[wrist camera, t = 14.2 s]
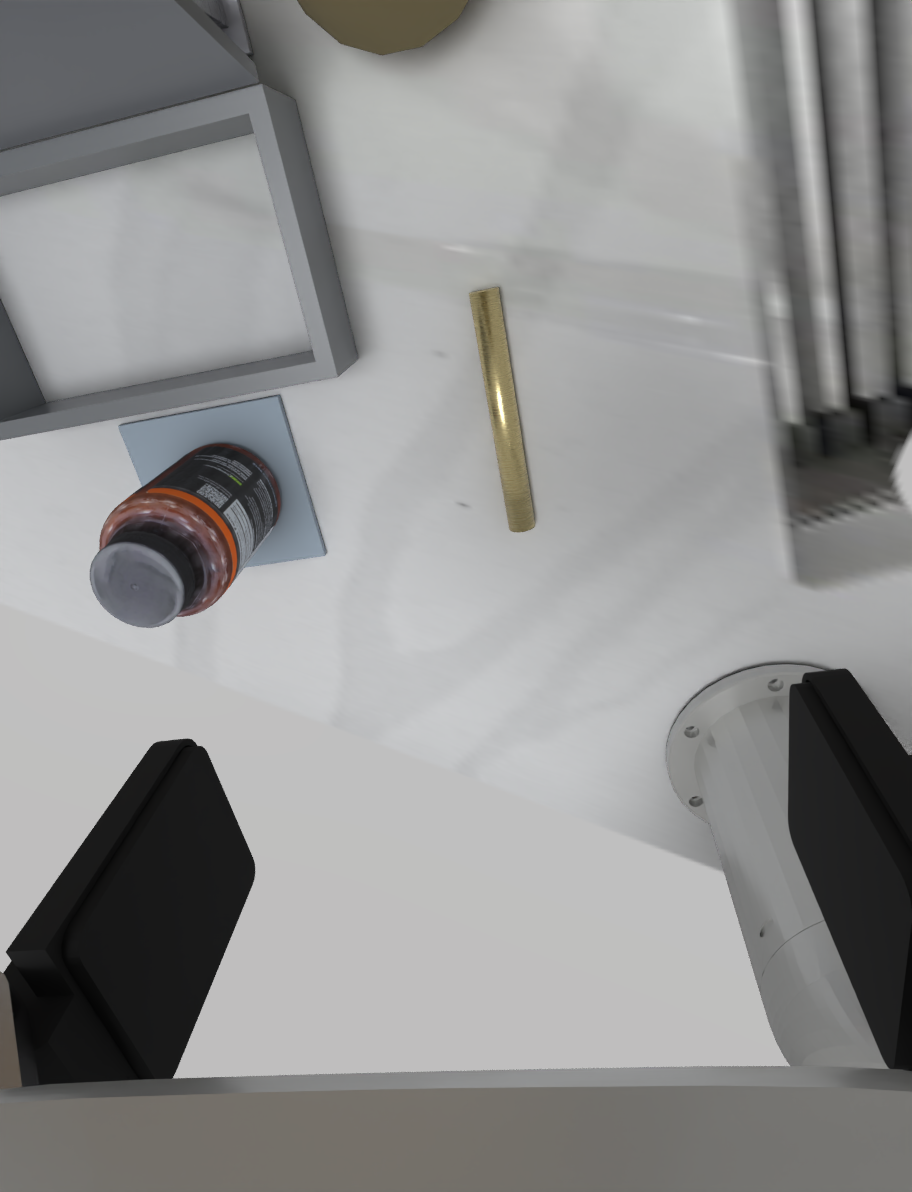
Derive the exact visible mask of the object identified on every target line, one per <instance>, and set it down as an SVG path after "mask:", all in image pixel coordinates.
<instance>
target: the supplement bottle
mask: <svg viewBox="0 0 912 1192" xmlns="http://www.w3.org/2000/svg"><path fill="white" fill-rule="evenodd" d="M280 508H281V498H280V492H279V489H278V485H277V483H276V480H275V478H274V476H273V475H272V473H271V471H270V470H269V469H268V468H267V467H266V466H265V465H264V463H263V462H262V461H261V460H260V459H258V458H257V457H256V456H254V455H253V454H252V453H250V452H248V451H246V450H244V449H242V448H240V447H236V446H234V445H229V444H209V445H205V446H202V447H199V448H197V449H194V450H193V451H191V452H189V453H187V454H186V455H184V456H183V457H182V458H180V459H179V460H178V461H177V462H175V463H174V464H173V465H171V466H170V467H169V468H167V469H166V470H164V471H163V472H162V473H161V474H159V475H158V476H156V477H155V478H154V479H152V480H151V481H150V482H148V483H147V484H146V485H144V486H143V487H142V488H140V489H139V490H137V491H136V492H135V493H133V494H132V495H131V496H129V497H128V498H127V499H126V500H124V501H123V502H122V503H121V504H119V505H118V506H117V507H116V508H115V509H114V510H113V511H112V513H111V514H110V515H109V517H108V518H107V520H106V521H105V523H104V525H103V528H102V531H101V535H100V540H99V541H100V548H99V549H100V551H99V552H98V553H97V555H96V556H95V558H94V559H93V561H92V564H91V568H90V581H91V586H92V589H93V592H94V594H95V596H96V598H97V600H98V601H99V602H100V604H101V605H102V606H103V607H104V608H105V609H106V610H107V611H108V612H109V613H110V614H111V615H113V616H114V617H115V618H117V619H119V620H121V621H123V622H125V623H127V624H130V625H133V626H137V627H146V628H153V627H159V626H161V625H164V624H166V623H169V622H170V621H172V620H173V619H174V618H175V617H184V616H190V615H193V614H196V613H199V612H201V611H204V610H205V609H207V608H208V607H210V606H212V605H213V604H214V603H215V602H216V601H218V599H219V598H220V597H221V596H222V595H223V594H224V593H225V591H226V590H227V589H228V588H229V587H230V586H231V584H232V583H233V582H234V580H235V579H236V577H237V576H238V575H239V574H240V572H241V571H242V570H243V568H244V567H245V566H246V564H247V563H248V562H249V560H250V559H251V558H252V556H254V554H255V553H256V551H257V550H258V549H259V547H260V546H261V545H262V543H263V542H264V541H265V540H266V538H267V537H268V536H269V534H270V533H271V531H272V530H273V528H274V526H275V525H276V522H277V520H278V518H279V514H280Z"/></svg>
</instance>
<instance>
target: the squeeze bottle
mask: <svg viewBox="0 0 912 1192" xmlns="http://www.w3.org/2000/svg"><path fill="white" fill-rule="evenodd" d="M297 1H298V2H299V4H300V6H301V7H302V9H303V10H304V12H305V14H307V15H308V16H309V17H310V18H311V19H312V20H314V21H315V22H316V23H317V24H318V25H319V26H321V27H322V28H323V29H324V30H325V31H326V32H328V33H329V34H330V35H331V36H332V37H334V38H335V39H336V40H337V41H338V42H339V43H341V44H344V45H347V46H351V47H354V48H358V49H361V50H365V51H368V52H372V53H376V54H379V55H385V54H389V53H394V52H399V51H404V50H408V49H413V48H418V47H422V46H424V45H425V44H426V43H427V42H429V41H430V40H431V39H433V38H434V37H435V36H436V35H438V34H439V33H440V32H441V31H443V30H444V29H445V28H447V27H448V26H449V25H450V24H452V23H453V22H454V21H455V20H457V19H458V18H459V16H460V14H461V13H462V11H463V9H464V7H465V6H466V4H467V2H468V0H297Z"/></svg>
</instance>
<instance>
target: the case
mask: <svg viewBox="0 0 912 1192" xmlns="http://www.w3.org/2000/svg"><path fill="white" fill-rule="evenodd" d="M251 133H254V135H255V138H256V142H257V146H258V149H259V153H260V157H261V160H262V164H263V168H264V172H265V175H266V179H267V183H268V186H269V190H270V194H271V198H272V201H273V205H274V209H275V212H276V216H277V220H278V224H279V227H280V231H281V235H282V238H283V242H284V246H285V249H286V253H287V257H288V261H289V264H290V268H291V272H292V275H293V279H294V283H295V287H296V290H297V294H298V298H299V301H300V305H301V309H302V313H303V316H304V320H305V324H306V327H307V331H308V335H309V338H310V342H311V346H312V350H313V351H308V352H303V353H298V354H293V355H288V356H283V357H278V358H273V359H267V360H262V361H257V362H252V363H247V364H242V365H237V366H232V367H226V368H221V369H216V370H211V371H206V372H201V373H196V374H191V375H185V376H180V377H175V378H170V379H165V380H160V381H155V382H150V383H144V384H139V385H134V386H129V387H124V388H119V389H114V390H109V391H104V392H98V393H93V394H88V395H83V396H78V397H73V398H68V399H63V400H57V401H52V402H47V403H46V402H45V400H44V398H43V396H42V393H41V391H40V389H39V387H38V384H37V382H36V380H35V377H34V375H33V373H32V371H31V368H30V366H29V364H28V362H27V359H26V357H25V355H24V352H23V350H22V348H21V346H20V343H19V341H18V339H17V336H16V334H15V332H14V330H13V327H12V325H11V323H10V321H9V318H8V316H7V314H6V311H5V309H4V307H3V305H2V302H1V300H0V440H5V439H10V438H16V437H21V436H26V435H32V434H37V433H42V432H48V431H53V430H58V429H64V428H69V427H74V426H80V425H85V424H90V423H96V422H101V421H106V420H111V419H117V418H122V417H127V416H133V415H138V414H143V413H149V412H154V411H159V410H165V409H170V408H175V407H181V406H186V405H191V404H197V403H202V402H207V401H213V400H218V399H223V398H229V397H234V396H239V395H245V394H250V393H255V392H261V391H266V390H271V389H277V388H282V387H287V386H293V385H298V384H303V383H309V382H314V381H319V380H324V379H330V378H335V377H338V376H340V375H341V374H342V373H343V372H344V371H345V370H346V369H348V368H349V367H350V366H351V365H352V364H353V363H355V362H356V361H357V360H358V355H357V351H356V347H355V343H354V339H353V334H352V330H351V326H350V322H349V318H348V314H347V310H346V306H345V302H344V298H343V293H342V289H341V285H340V281H339V277H338V273H337V269H336V265H335V261H334V257H333V253H332V248H331V244H330V240H329V236H328V232H327V228H326V224H325V220H324V216H323V212H322V207H321V203H320V199H319V195H318V191H317V187H316V183H315V179H314V175H313V171H312V166H311V162H310V158H309V154H308V150H307V146H306V142H305V138H304V134H303V130H302V126H301V121H300V117H299V113H298V109H297V105H296V101H295V99H293V98H291V97H289V96H287V95H285V94H282V93H280V92H278V91H276V90H274V89H272V88H270V87H268V86H266V85H264V84H258V85H255V86H251V87H247V88H243V89H239V90H235V91H232V92H228V93H224V94H220V95H216V96H212V97H209V98H205V99H201V100H197V101H193V102H189V103H186V104H182V105H178V106H174V107H170V108H167V109H163V110H159V111H155V112H151V113H147V114H144V115H140V116H136V117H132V118H128V119H124V120H121V121H117V122H113V123H109V124H105V125H102V126H98V127H94V128H90V129H86V130H82V131H79V132H75V133H71V134H67V135H63V136H59V137H56V138H52V139H48V140H44V141H40V142H37V143H33V144H29V145H25V146H21V147H17V148H14V149H10V150H6V151H2V152H0V196H3V195H7V194H11V193H15V192H19V191H23V190H27V189H31V188H35V187H39V186H43V185H47V184H51V183H55V182H59V181H63V180H67V179H71V178H75V177H79V176H83V175H87V174H91V173H95V172H99V171H103V170H107V169H111V168H115V167H119V166H123V165H127V164H131V163H135V162H139V161H143V160H147V159H151V158H155V157H159V156H163V155H167V154H171V153H175V152H179V151H183V150H187V149H191V148H195V147H199V146H203V145H207V144H211V143H215V142H219V141H223V140H227V139H231V138H235V137H239V136H243V135H247V134H251Z"/></svg>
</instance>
